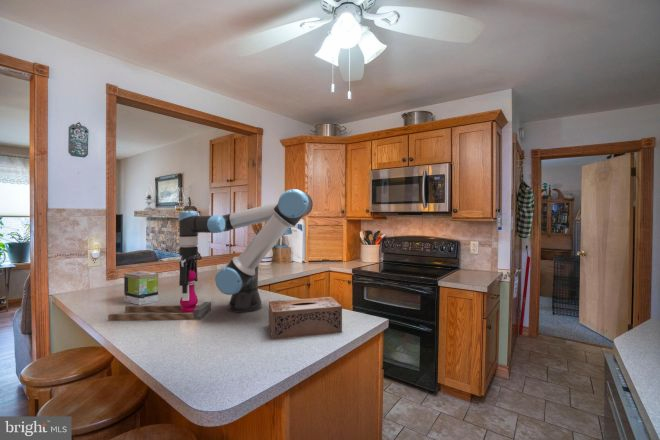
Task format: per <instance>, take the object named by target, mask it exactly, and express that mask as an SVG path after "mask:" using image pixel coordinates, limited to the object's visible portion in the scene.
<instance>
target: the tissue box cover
mask: <svg viewBox="0 0 660 440" xmlns="http://www.w3.org/2000/svg"><path fill="white" fill-rule="evenodd" d="M268 328H269V330H270V331H269V332H270V336H271V338H272V340H280V339H289V338H290V339H291V338H300V337H308V336H317V335H326V334H327V335H328V334H336V332H337V333H342V332H343V306H342V305H341V303H339V302H338V301H337V300H336V299H334V298H333V297H332V296H323V297H312V298H300V299H297V298H296V299H285V300H284V299H283V300H273V301H270V300H269V301H268Z"/></svg>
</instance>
